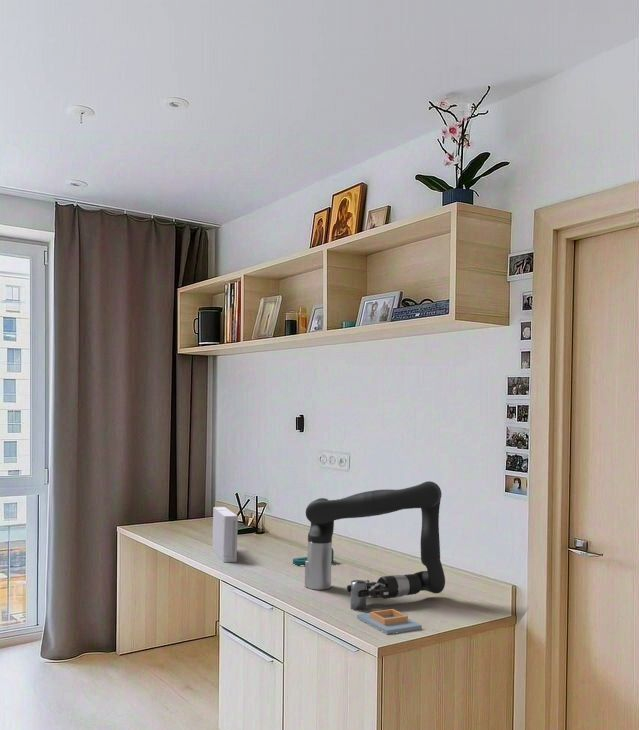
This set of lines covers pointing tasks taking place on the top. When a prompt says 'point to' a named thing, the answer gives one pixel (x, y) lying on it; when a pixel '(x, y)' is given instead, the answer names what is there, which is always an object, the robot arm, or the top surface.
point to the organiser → (389, 621)
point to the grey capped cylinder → (356, 601)
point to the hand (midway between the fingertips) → (352, 591)
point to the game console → (225, 534)
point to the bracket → (302, 560)
